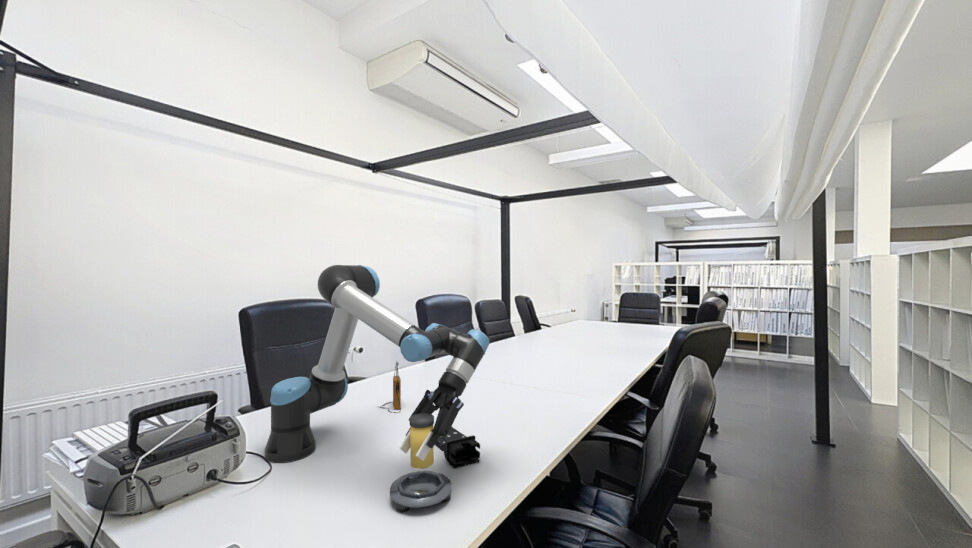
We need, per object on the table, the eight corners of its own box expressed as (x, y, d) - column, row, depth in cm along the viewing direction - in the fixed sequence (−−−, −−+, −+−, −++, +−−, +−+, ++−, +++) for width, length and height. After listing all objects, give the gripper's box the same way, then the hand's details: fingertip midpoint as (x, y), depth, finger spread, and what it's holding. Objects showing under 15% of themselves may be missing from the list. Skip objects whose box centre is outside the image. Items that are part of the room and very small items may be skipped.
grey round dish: (396, 522, 93) (396, 506, 93) (385, 488, 108) (385, 474, 108) (459, 506, 100) (459, 491, 100) (441, 476, 114) (441, 463, 114)
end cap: (470, 453, 130) (470, 432, 130) (481, 461, 124) (481, 440, 124) (443, 460, 125) (443, 438, 125) (452, 469, 119) (452, 447, 119)
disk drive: (469, 445, 137) (448, 431, 149) (469, 437, 137) (448, 423, 149) (442, 453, 131) (423, 437, 143) (442, 444, 131) (423, 429, 143)
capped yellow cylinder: (412, 471, 99) (412, 423, 99) (407, 460, 105) (407, 415, 105) (437, 466, 102) (437, 419, 102) (430, 455, 108) (430, 412, 108)
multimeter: (376, 404, 179) (376, 360, 179) (398, 401, 182) (398, 358, 182) (377, 415, 165) (377, 367, 165) (401, 412, 168) (401, 365, 168)
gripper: (487, 391, 109) (444, 472, 97) (440, 379, 122) (396, 450, 109) (474, 375, 105) (427, 458, 93) (427, 365, 117) (380, 437, 105)
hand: (411, 454), depth 101 cm, fingers closed on capped yellow cylinder, 6 cm apart
